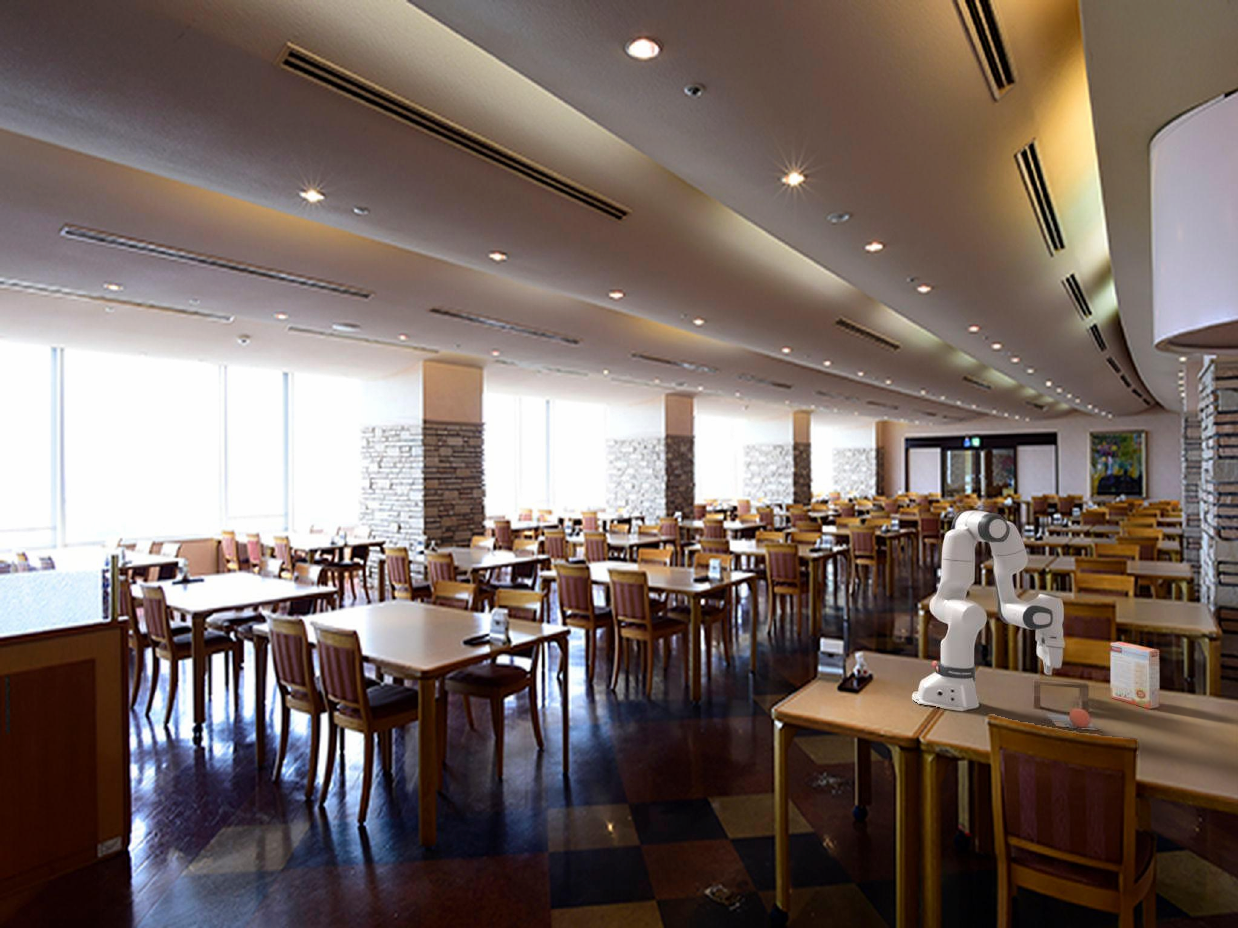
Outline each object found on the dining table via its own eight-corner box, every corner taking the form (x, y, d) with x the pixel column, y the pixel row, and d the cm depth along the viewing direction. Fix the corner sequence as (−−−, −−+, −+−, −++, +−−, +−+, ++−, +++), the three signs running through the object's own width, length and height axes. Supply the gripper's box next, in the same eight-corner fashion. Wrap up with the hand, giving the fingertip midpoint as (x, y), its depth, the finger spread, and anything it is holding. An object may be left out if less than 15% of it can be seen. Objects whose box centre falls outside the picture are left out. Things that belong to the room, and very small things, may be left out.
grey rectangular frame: (1088, 712, 252) (1088, 685, 252) (1034, 707, 257) (1033, 680, 257) (1085, 709, 255) (1085, 682, 255) (1032, 705, 260) (1031, 678, 260)
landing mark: (1056, 726, 239) (1056, 726, 239) (1046, 714, 250) (1046, 714, 250) (1097, 730, 235) (1097, 730, 235) (1086, 718, 246) (1086, 717, 246)
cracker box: (1160, 707, 257) (1160, 649, 257) (1149, 709, 255) (1149, 651, 255) (1120, 695, 270) (1120, 640, 270) (1109, 697, 268) (1109, 642, 268)
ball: (1071, 709, 237) (1065, 707, 242) (1074, 728, 235) (1068, 726, 241) (1091, 709, 235) (1084, 707, 241) (1095, 728, 234) (1088, 726, 240)
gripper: (1032, 630, 279) (1031, 665, 279) (1046, 642, 259) (1045, 680, 259) (1051, 632, 277) (1050, 667, 277) (1066, 644, 258) (1065, 682, 257)
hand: (1047, 674), depth 268 cm, fingers closed
